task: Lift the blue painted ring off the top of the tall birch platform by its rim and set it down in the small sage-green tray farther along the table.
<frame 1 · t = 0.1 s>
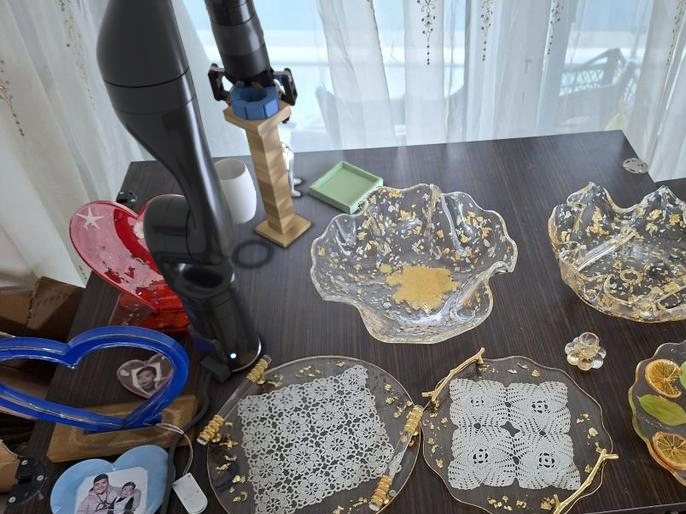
hand: (262, 119, 111), 23 cm above the table, tool pointing down, fingers open, 8 cm apart
tray: (346, 190, 134), on the table
ring: (256, 107, 104), point 28 cm above the table, touching platform
cup: (252, 255, 121), on the table
figurine: (291, 189, 134), on the table
platform: (283, 228, 126), on the table
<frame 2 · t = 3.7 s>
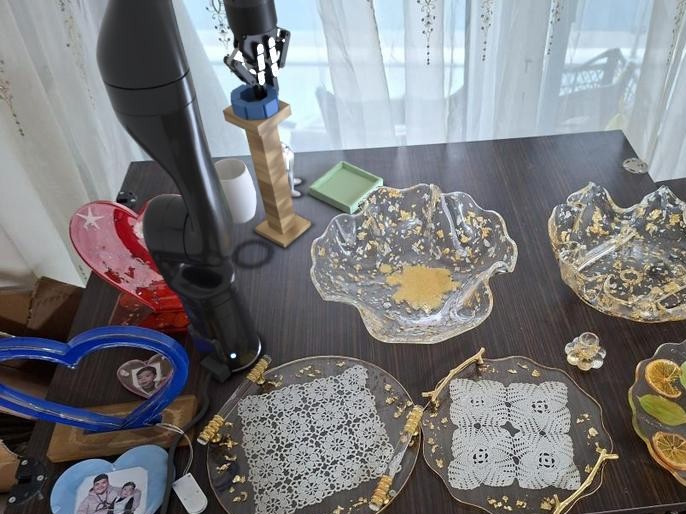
hand: (268, 98, 105), 28 cm above the table, tool pointing down, fingers closed on ring, 2 cm apart
ring: (256, 107, 104), point 28 cm above the table, touching gripper, platform
everything else where it was.
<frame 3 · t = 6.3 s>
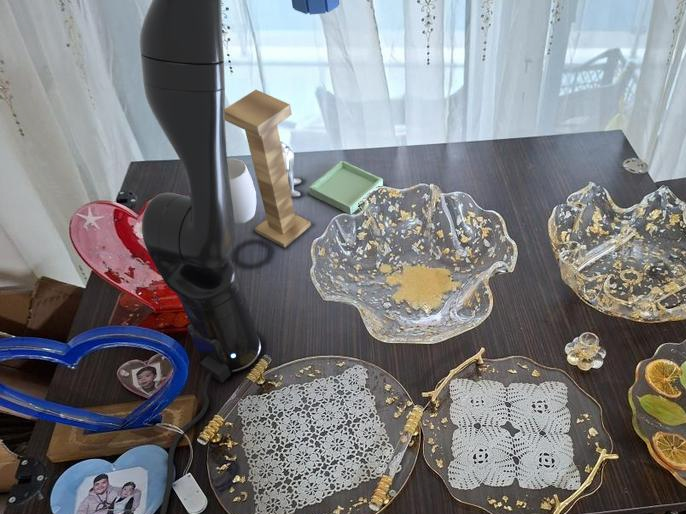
ring: (315, 2, 101), point 41 cm above the table, touching gripper
everything else where it was.
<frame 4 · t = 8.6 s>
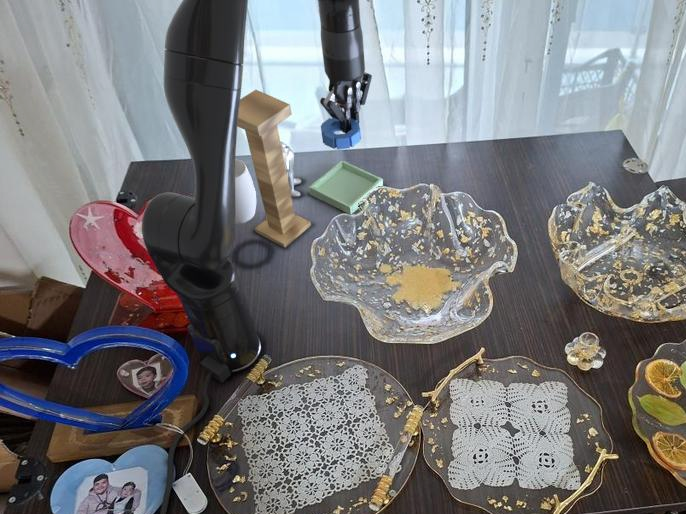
hand: (350, 129, 124), 14 cm above the table, tool pointing down, fingers closed on ring, 1 cm apart
ring: (341, 137, 123), point 13 cm above the table, touching gripper
everything else where it was.
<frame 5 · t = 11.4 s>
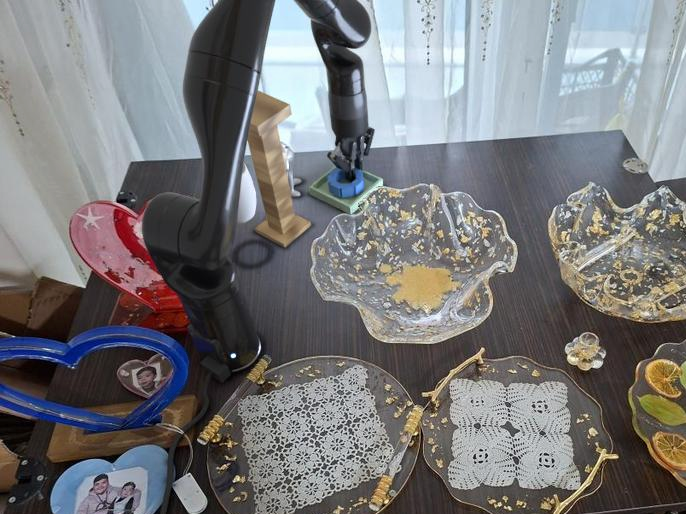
hand: (354, 177, 134), 2 cm above the table, tool pointing down, fingers closed on ring, 1 cm apart
ring: (346, 185, 133), point 1 cm above the table, touching gripper
everything else where it was.
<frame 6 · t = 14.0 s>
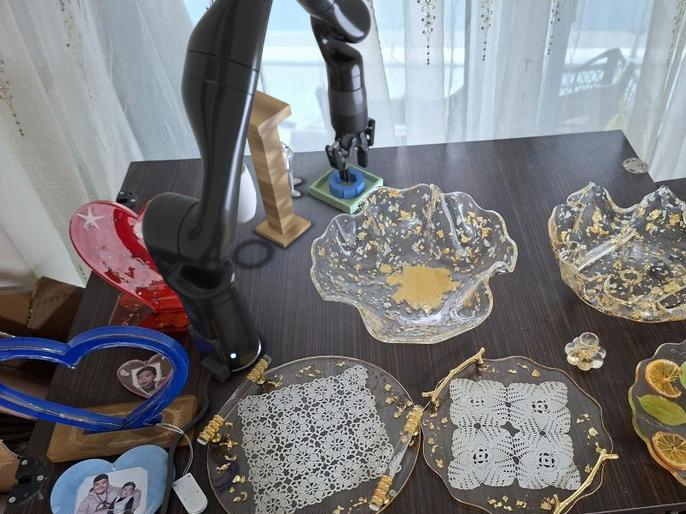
hand: (354, 172, 133), 3 cm above the table, tool pointing down, fingers open, 5 cm apart
ring: (347, 187, 133), point 1 cm above the table, touching tray
everything else where it was.
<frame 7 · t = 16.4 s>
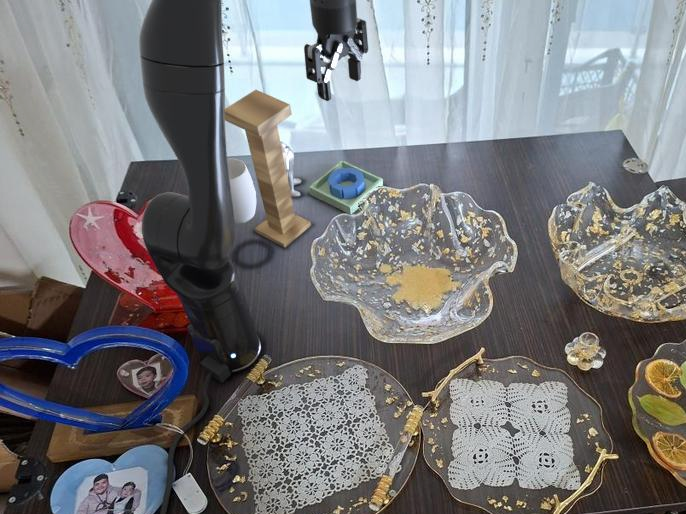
hand: (340, 88, 112), 26 cm above the table, tool pointing down, fingers open, 8 cm apart
nothing on the table moved.
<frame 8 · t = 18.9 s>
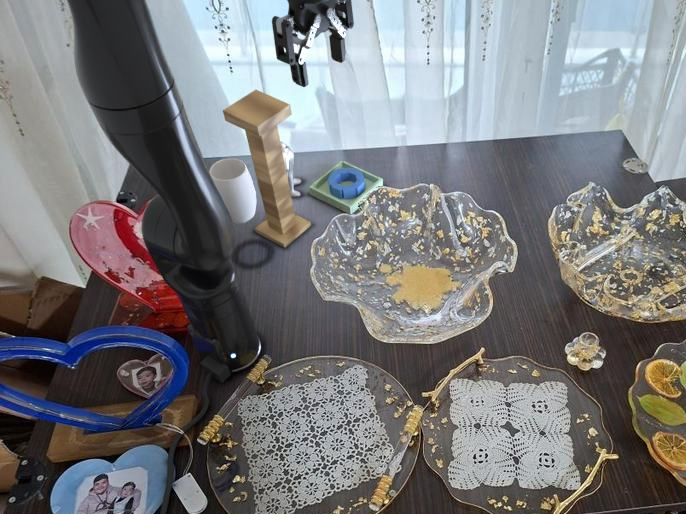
hand: (320, 72, 92), 38 cm above the table, tool pointing down, fingers open, 8 cm apart
nothing on the table moved.
at the end: ring inside the target area in the tray (0.2 cm from its centre), point 0.6 cm above the tray's base; ring touching tray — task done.
